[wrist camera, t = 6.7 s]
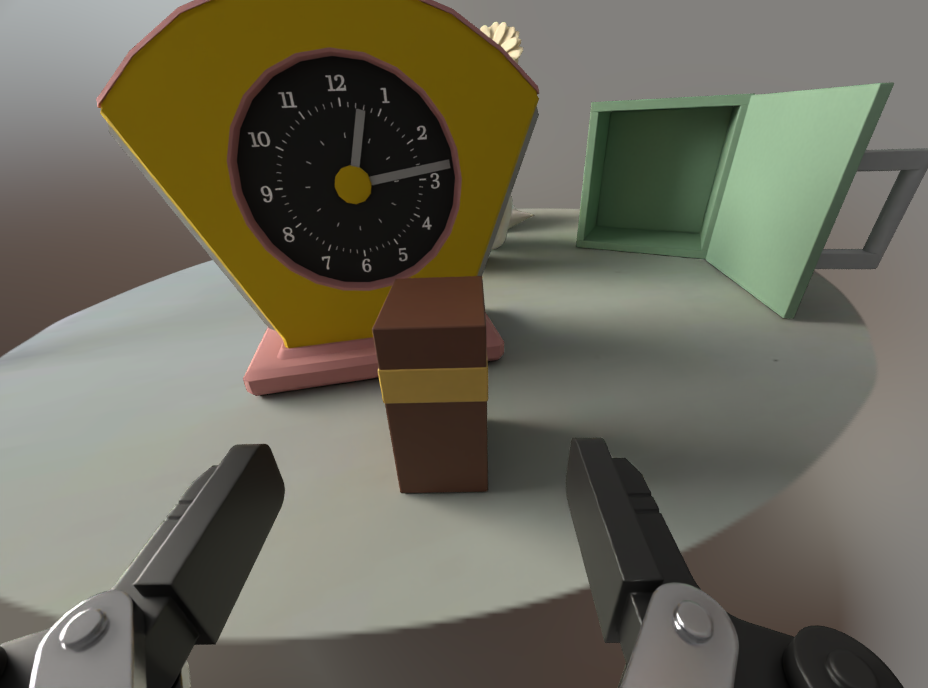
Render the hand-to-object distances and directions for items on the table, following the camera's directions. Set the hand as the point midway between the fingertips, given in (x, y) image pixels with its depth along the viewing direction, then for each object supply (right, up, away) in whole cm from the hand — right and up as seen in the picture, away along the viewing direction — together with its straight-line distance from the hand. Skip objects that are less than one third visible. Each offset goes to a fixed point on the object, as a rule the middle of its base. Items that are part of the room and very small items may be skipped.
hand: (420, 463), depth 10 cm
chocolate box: (0, -2, +9) cm, 10 cm away
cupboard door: (+30, +9, +26) cm, 41 cm away
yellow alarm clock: (-5, +3, +19) cm, 20 cm away
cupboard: (+24, +16, +40) cm, 49 cm away
